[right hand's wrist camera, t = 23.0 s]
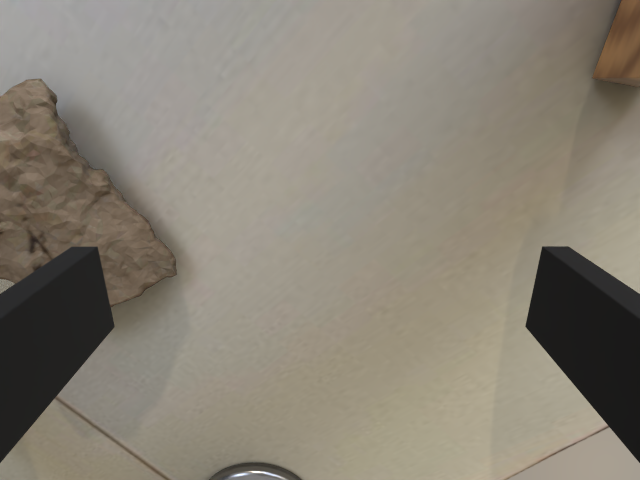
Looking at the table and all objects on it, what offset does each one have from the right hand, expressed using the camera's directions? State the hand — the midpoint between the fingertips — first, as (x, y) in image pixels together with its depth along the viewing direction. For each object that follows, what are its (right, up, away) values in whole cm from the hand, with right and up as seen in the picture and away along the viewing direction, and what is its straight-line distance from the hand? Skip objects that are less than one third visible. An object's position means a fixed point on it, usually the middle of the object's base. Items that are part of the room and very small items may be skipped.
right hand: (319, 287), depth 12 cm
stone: (-24, +4, +29) cm, 38 cm away
